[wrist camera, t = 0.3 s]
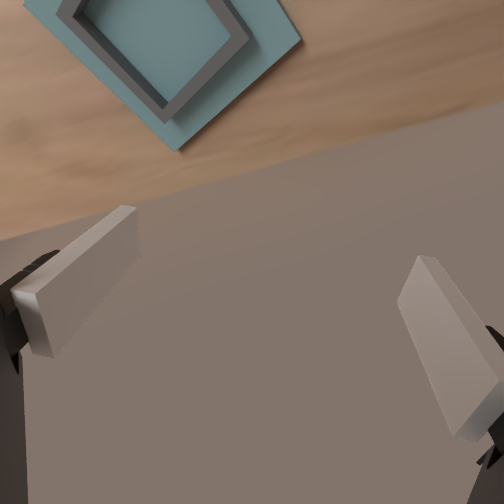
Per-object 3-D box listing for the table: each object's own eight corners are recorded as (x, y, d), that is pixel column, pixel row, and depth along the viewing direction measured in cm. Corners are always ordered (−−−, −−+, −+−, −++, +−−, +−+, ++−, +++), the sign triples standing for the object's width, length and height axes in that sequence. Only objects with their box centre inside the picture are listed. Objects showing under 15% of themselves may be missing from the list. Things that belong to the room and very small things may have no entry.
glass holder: (132, -236, 21) (112, -252, 19) (301, 36, 31) (299, 45, 29) (29, 3, 32) (9, 8, 30) (176, 148, 42) (169, 160, 40)
